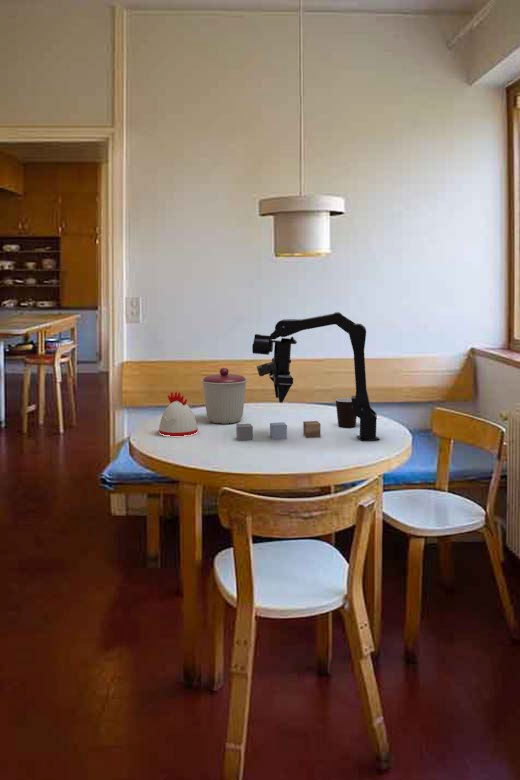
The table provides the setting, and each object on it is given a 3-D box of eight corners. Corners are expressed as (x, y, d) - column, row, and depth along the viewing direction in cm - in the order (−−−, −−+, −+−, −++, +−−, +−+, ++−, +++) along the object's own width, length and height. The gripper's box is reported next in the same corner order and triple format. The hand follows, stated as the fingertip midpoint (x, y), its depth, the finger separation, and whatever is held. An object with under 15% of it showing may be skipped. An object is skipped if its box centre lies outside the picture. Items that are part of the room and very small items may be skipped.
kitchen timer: (175, 427, 277) (174, 388, 275) (205, 431, 270) (204, 391, 268) (151, 434, 265) (150, 393, 263) (182, 438, 258) (181, 396, 256)
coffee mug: (351, 429, 271) (351, 402, 269) (331, 426, 276) (331, 400, 275) (366, 424, 280) (366, 398, 279) (346, 421, 285) (347, 396, 284)
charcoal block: (252, 440, 255) (252, 426, 254) (238, 441, 254) (238, 427, 253) (250, 437, 260) (250, 423, 259) (236, 438, 259) (236, 424, 258)
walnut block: (320, 437, 259) (320, 423, 258) (306, 438, 258) (306, 424, 257) (316, 434, 263) (317, 420, 263) (303, 435, 263) (303, 421, 262)
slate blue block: (286, 439, 257) (286, 425, 256) (272, 439, 256) (272, 425, 255) (284, 436, 262) (283, 422, 261) (270, 436, 261) (270, 422, 260)
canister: (247, 416, 297) (247, 364, 293) (248, 426, 279) (248, 370, 275) (202, 417, 296) (201, 365, 293) (200, 426, 278) (199, 371, 275)
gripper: (256, 351, 264) (253, 394, 266) (261, 358, 246) (258, 404, 248) (287, 353, 265) (284, 395, 268) (294, 360, 247) (291, 405, 249)
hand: (279, 400), depth 258 cm, fingers open, 9 cm apart
